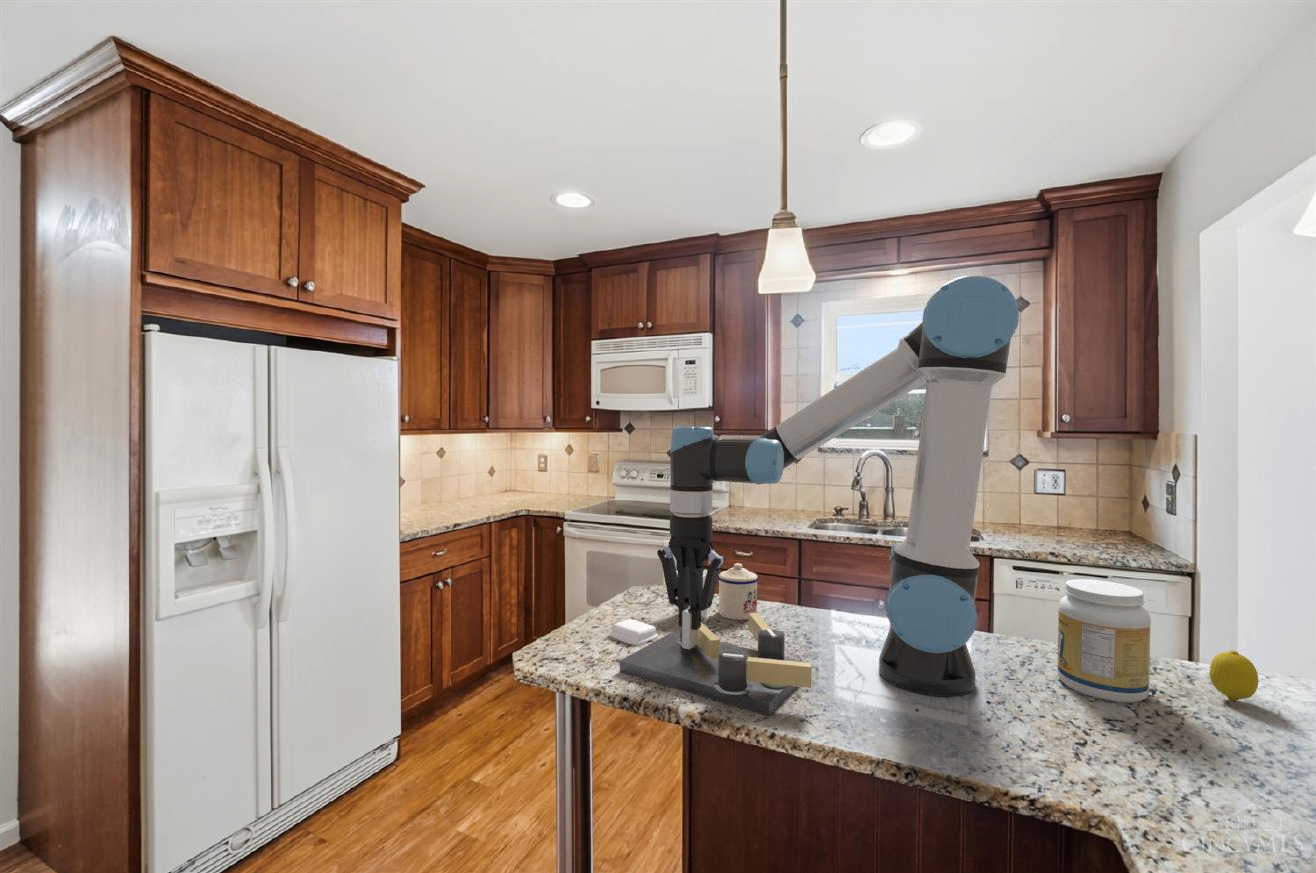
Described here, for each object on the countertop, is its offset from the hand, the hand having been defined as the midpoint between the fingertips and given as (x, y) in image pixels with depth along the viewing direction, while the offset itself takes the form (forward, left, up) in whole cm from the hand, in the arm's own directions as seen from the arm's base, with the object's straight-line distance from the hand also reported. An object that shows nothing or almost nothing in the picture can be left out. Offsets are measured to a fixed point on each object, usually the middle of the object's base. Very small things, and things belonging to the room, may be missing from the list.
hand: (689, 646), depth 104 cm
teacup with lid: (+7, -34, -4) cm, 35 cm away
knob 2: (-9, -11, -2) cm, 14 cm away
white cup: (+15, -26, -4) cm, 30 cm away
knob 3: (-16, +4, -2) cm, 17 cm away
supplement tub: (-60, -32, -4) cm, 69 cm away
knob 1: (0, -4, -2) cm, 4 cm away
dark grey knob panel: (-4, -1, -4) cm, 6 cm away
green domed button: (-16, +1, -2) cm, 17 cm away
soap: (+18, -8, -5) cm, 20 cm away
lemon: (-77, -38, -4) cm, 86 cm away
